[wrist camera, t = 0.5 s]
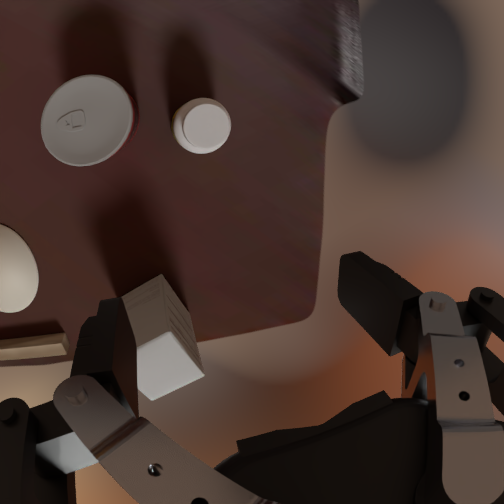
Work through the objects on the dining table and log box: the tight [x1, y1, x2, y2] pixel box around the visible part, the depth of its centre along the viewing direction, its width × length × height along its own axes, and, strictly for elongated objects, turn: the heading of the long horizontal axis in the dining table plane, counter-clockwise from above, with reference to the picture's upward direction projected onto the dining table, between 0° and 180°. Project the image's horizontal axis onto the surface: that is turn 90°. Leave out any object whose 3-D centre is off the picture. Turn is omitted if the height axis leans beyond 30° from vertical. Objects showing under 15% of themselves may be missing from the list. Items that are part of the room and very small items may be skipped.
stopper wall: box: [0, 333, 70, 360], centre depth 36 cm, size 2×14×2 cm, turn 93°
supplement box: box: [121, 274, 205, 401], centre depth 35 cm, size 7×7×13 cm
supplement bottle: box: [171, 98, 231, 154], centre depth 29 cm, size 5×5×10 cm
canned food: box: [41, 75, 139, 166], centre depth 26 cm, size 8×8×11 cm
